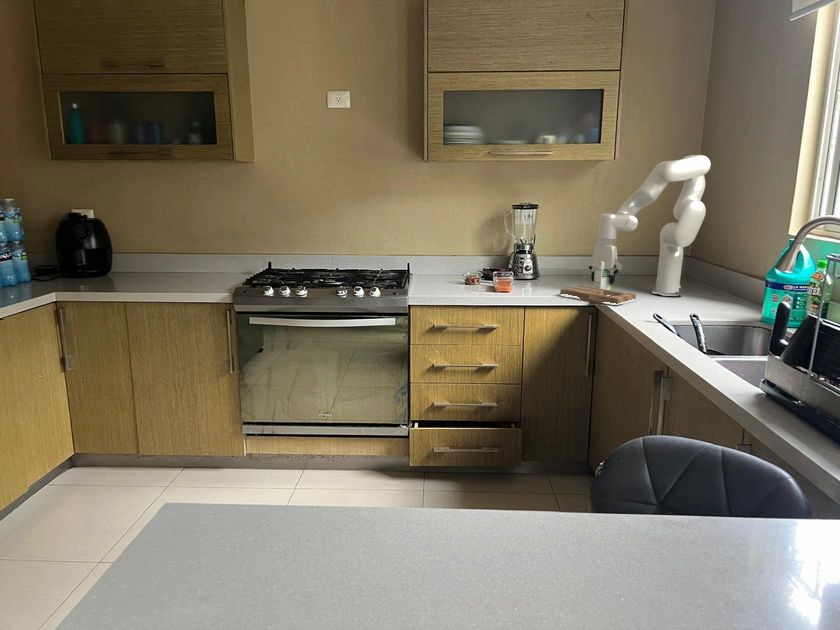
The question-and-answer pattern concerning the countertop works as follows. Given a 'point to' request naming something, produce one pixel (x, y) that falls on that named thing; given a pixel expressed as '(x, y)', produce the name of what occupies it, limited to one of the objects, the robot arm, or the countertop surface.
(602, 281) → the syrup box
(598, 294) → the board
